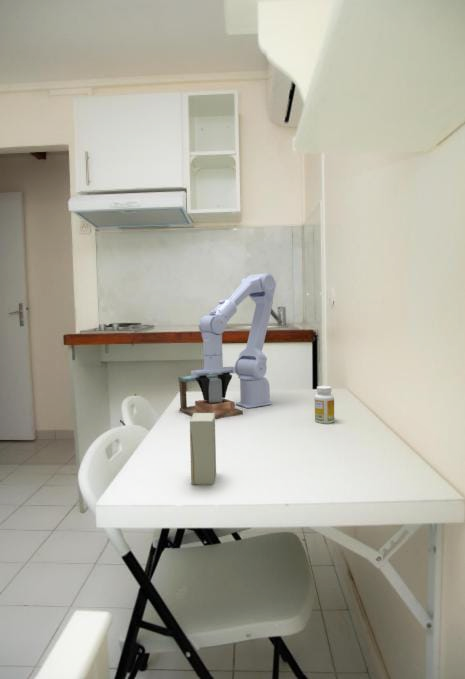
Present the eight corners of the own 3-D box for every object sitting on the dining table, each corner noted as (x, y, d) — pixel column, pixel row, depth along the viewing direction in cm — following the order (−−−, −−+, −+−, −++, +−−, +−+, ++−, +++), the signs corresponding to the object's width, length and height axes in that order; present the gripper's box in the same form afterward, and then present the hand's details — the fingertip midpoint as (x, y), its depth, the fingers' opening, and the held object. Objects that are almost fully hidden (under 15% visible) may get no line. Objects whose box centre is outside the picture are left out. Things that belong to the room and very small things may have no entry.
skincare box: (195, 472, 87) (192, 412, 86) (217, 472, 87) (215, 412, 86) (190, 485, 81) (188, 420, 80) (214, 485, 81) (212, 420, 80)
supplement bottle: (333, 418, 125) (332, 385, 125) (335, 423, 120) (335, 388, 119) (314, 418, 126) (313, 385, 125) (315, 423, 121) (315, 388, 120)
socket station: (217, 405, 148) (216, 372, 147) (242, 414, 134) (241, 378, 133) (179, 411, 141) (178, 377, 140) (202, 421, 127) (200, 383, 126)
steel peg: (220, 406, 137) (219, 377, 136) (222, 409, 133) (221, 379, 132) (207, 407, 136) (206, 378, 135) (209, 410, 132) (208, 380, 132)
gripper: (227, 351, 141) (228, 393, 142) (185, 355, 133) (187, 399, 134) (238, 353, 134) (239, 397, 135) (196, 357, 127) (197, 403, 128)
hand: (214, 398), depth 134 cm, fingers closed on steel peg, 5 cm apart
